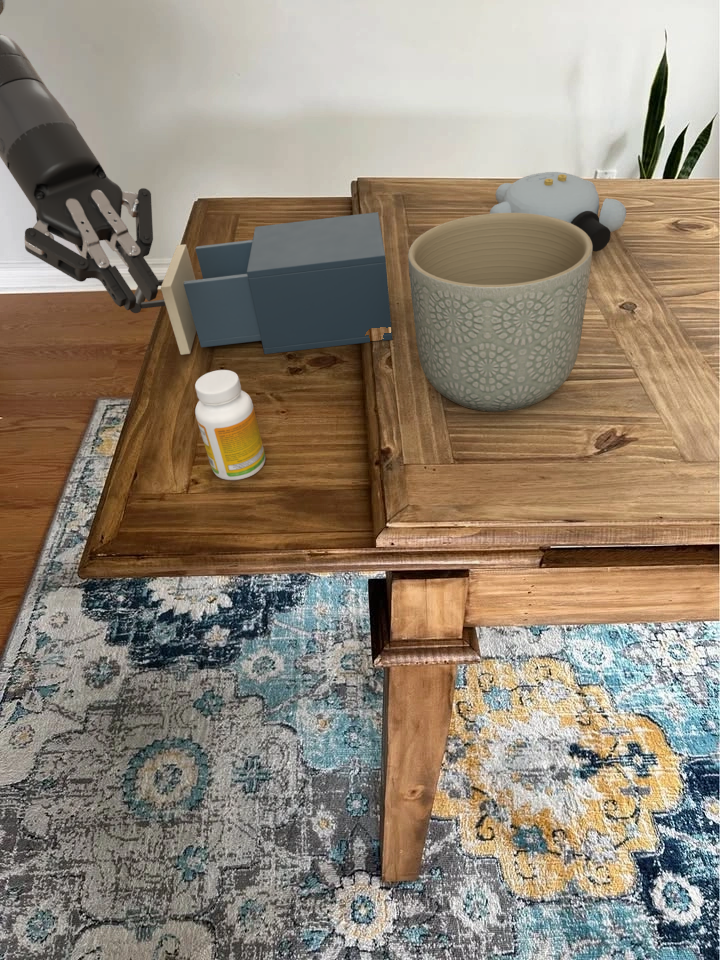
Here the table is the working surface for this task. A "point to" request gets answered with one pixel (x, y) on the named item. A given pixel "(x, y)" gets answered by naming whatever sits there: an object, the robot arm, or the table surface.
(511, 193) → the figurine
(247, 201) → the table surface
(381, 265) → the cabinet
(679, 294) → the table surface
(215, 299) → the drawer
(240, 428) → the supplement bottle
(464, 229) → the planter
